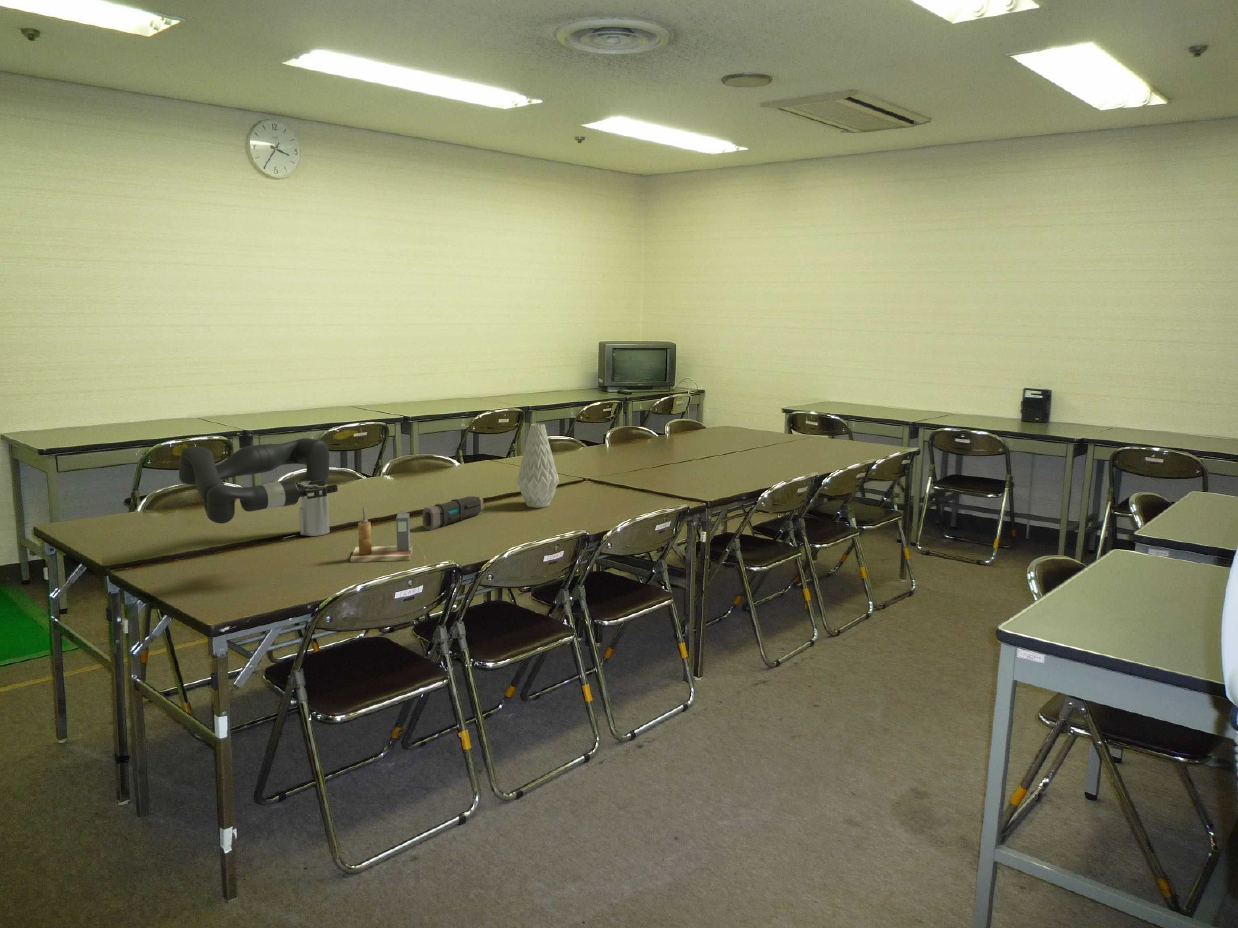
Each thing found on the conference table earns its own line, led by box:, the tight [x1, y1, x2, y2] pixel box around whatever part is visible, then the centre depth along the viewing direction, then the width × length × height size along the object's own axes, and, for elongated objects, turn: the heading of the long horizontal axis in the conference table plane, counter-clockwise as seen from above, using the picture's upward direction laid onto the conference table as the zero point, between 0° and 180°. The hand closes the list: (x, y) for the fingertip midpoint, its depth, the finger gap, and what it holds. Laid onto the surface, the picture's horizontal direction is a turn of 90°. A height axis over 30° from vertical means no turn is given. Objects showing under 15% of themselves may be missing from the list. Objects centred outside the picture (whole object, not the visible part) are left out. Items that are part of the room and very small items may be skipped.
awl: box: [357, 506, 372, 555], centre depth 282 cm, size 4×4×15 cm
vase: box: [516, 423, 560, 509], centre depth 355 cm, size 17×17×33 cm
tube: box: [422, 495, 485, 531], centre depth 331 cm, size 11×7×30 cm
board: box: [350, 544, 414, 563], centre depth 286 cm, size 18×12×2 cm, turn 99°
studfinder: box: [395, 512, 411, 551], centre depth 288 cm, size 4×6×11 cm, turn 9°
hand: (330, 485), depth 271 cm, fingers open, 8 cm apart
